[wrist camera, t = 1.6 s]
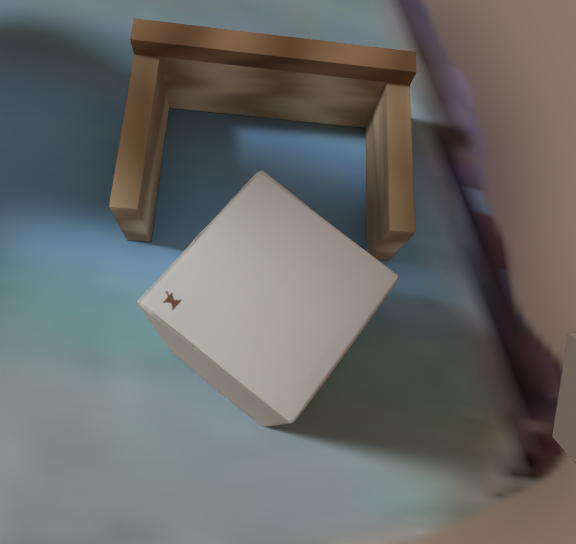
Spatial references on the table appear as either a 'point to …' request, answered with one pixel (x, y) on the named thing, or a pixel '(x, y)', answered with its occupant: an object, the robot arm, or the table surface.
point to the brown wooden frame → (268, 110)
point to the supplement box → (267, 301)
